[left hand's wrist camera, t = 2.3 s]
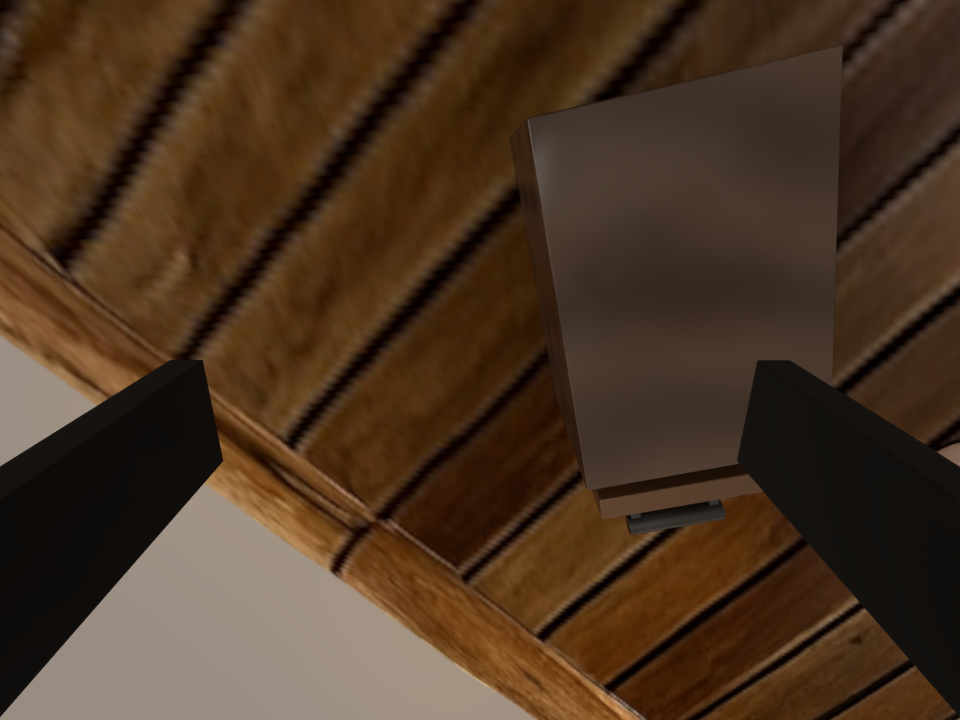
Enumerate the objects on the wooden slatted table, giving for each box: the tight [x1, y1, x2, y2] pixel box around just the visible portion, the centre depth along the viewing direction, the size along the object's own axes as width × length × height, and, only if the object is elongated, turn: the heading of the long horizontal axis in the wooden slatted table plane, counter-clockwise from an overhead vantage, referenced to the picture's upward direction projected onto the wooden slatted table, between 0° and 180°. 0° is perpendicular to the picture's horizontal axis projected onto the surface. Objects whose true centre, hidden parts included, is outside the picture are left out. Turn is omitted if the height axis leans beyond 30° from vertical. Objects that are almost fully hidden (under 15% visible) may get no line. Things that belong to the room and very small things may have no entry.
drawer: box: [592, 464, 763, 535], centre depth 28 cm, size 20×10×9 cm, turn 12°
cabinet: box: [510, 46, 842, 490], centre depth 26 cm, size 16×11×11 cm
